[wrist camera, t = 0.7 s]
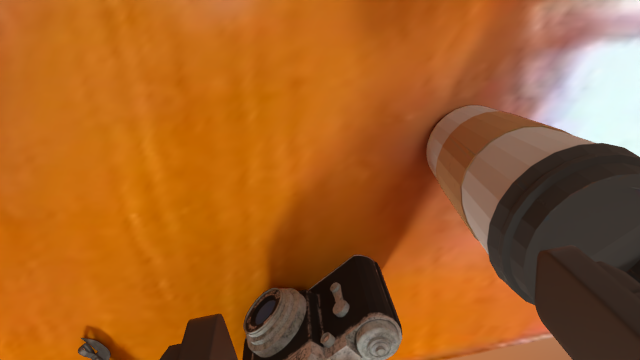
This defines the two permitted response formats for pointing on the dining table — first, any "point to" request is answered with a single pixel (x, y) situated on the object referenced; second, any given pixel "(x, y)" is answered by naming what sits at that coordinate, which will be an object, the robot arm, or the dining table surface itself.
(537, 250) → the coffee cup
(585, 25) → the dining table surface
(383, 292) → the camera
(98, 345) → the can opener
